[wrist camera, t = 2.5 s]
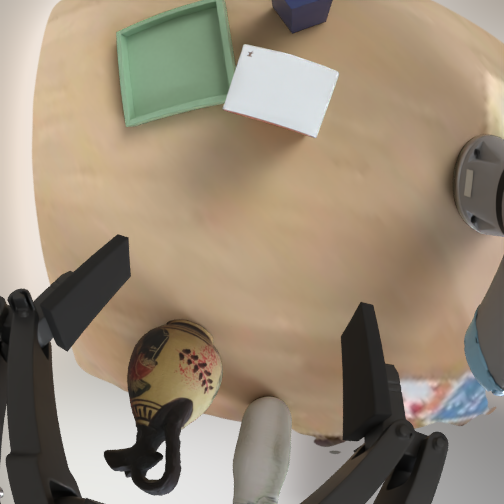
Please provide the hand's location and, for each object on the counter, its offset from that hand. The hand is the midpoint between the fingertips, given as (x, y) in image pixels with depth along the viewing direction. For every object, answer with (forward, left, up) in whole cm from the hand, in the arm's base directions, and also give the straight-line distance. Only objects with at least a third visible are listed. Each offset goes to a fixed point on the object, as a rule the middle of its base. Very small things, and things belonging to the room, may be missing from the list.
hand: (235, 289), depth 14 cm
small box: (-3, -11, -23) cm, 26 cm away
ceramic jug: (+17, +25, -23) cm, 38 cm away
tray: (+10, -20, -23) cm, 32 cm away
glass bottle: (+5, +44, -23) cm, 50 cm away
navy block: (-7, -24, -23) cm, 34 cm away
